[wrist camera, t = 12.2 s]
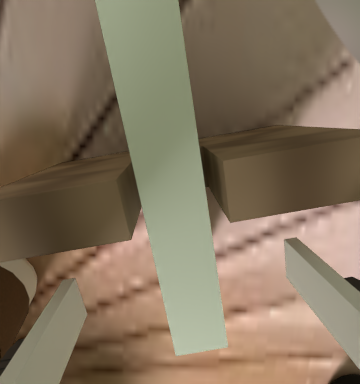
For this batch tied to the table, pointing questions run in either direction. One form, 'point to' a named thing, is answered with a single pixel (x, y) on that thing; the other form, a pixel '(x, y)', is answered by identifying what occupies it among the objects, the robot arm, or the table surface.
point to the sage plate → (166, 163)
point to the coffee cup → (14, 299)
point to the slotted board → (213, 178)
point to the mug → (348, 380)
